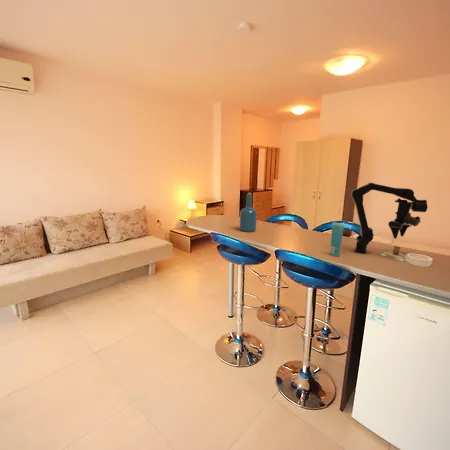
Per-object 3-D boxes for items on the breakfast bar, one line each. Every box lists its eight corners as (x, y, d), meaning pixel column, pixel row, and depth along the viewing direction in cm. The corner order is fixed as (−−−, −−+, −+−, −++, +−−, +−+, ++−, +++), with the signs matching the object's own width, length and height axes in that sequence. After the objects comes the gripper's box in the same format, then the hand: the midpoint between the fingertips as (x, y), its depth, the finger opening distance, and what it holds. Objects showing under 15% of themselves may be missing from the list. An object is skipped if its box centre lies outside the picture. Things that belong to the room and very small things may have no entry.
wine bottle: (255, 232, 201) (257, 193, 195) (238, 231, 203) (240, 193, 197) (256, 228, 214) (258, 192, 208) (240, 227, 216) (241, 191, 210)
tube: (342, 255, 153) (346, 223, 149) (339, 257, 149) (343, 224, 145) (329, 252, 158) (333, 221, 154) (326, 254, 154) (330, 222, 150)
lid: (402, 260, 145) (404, 251, 144) (379, 254, 155) (381, 245, 154) (411, 256, 152) (413, 248, 151) (389, 251, 162) (390, 243, 161)
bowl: (425, 268, 135) (427, 261, 135) (402, 262, 144) (403, 255, 143) (433, 264, 142) (435, 257, 141) (410, 258, 151) (411, 252, 150)
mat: (402, 261, 145) (402, 260, 145) (379, 255, 155) (379, 254, 155) (411, 257, 152) (411, 256, 152) (389, 252, 162) (389, 251, 162)
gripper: (413, 214, 136) (407, 243, 140) (426, 211, 147) (420, 238, 150) (390, 211, 145) (385, 238, 148) (404, 208, 156) (399, 234, 159)
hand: (398, 237), depth 151 cm, fingers open, 9 cm apart
